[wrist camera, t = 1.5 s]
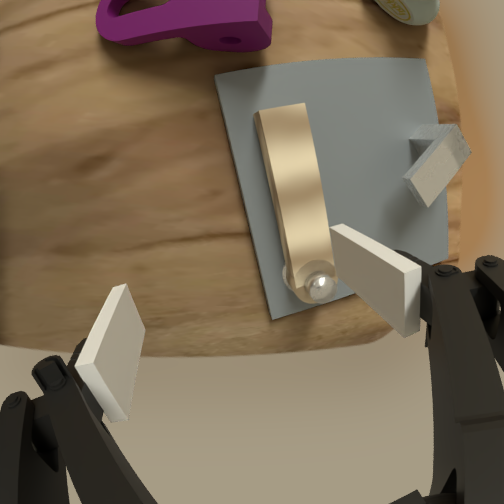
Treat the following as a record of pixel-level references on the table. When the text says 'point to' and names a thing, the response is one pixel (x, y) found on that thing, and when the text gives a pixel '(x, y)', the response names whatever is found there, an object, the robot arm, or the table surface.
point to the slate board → (339, 155)
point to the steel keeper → (435, 160)
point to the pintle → (317, 286)
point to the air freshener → (411, 10)
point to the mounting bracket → (190, 23)
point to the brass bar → (296, 193)
